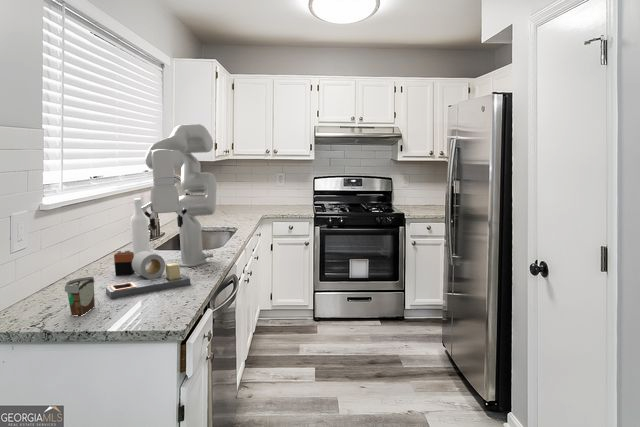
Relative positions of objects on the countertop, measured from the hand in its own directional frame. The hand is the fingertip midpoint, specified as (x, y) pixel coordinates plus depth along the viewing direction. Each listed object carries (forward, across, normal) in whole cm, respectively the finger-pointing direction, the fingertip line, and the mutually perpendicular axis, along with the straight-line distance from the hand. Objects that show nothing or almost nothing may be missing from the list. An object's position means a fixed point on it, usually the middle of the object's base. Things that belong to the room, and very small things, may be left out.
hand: (166, 228), depth 174 cm
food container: (+23, +32, +16) cm, 42 cm away
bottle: (+21, +1, -52) cm, 56 cm away
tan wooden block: (+22, -1, +1) cm, 22 cm away
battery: (+22, +12, -29) cm, 38 cm away
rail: (+22, +8, +2) cm, 23 cm away
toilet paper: (+22, +4, -19) cm, 29 cm away
